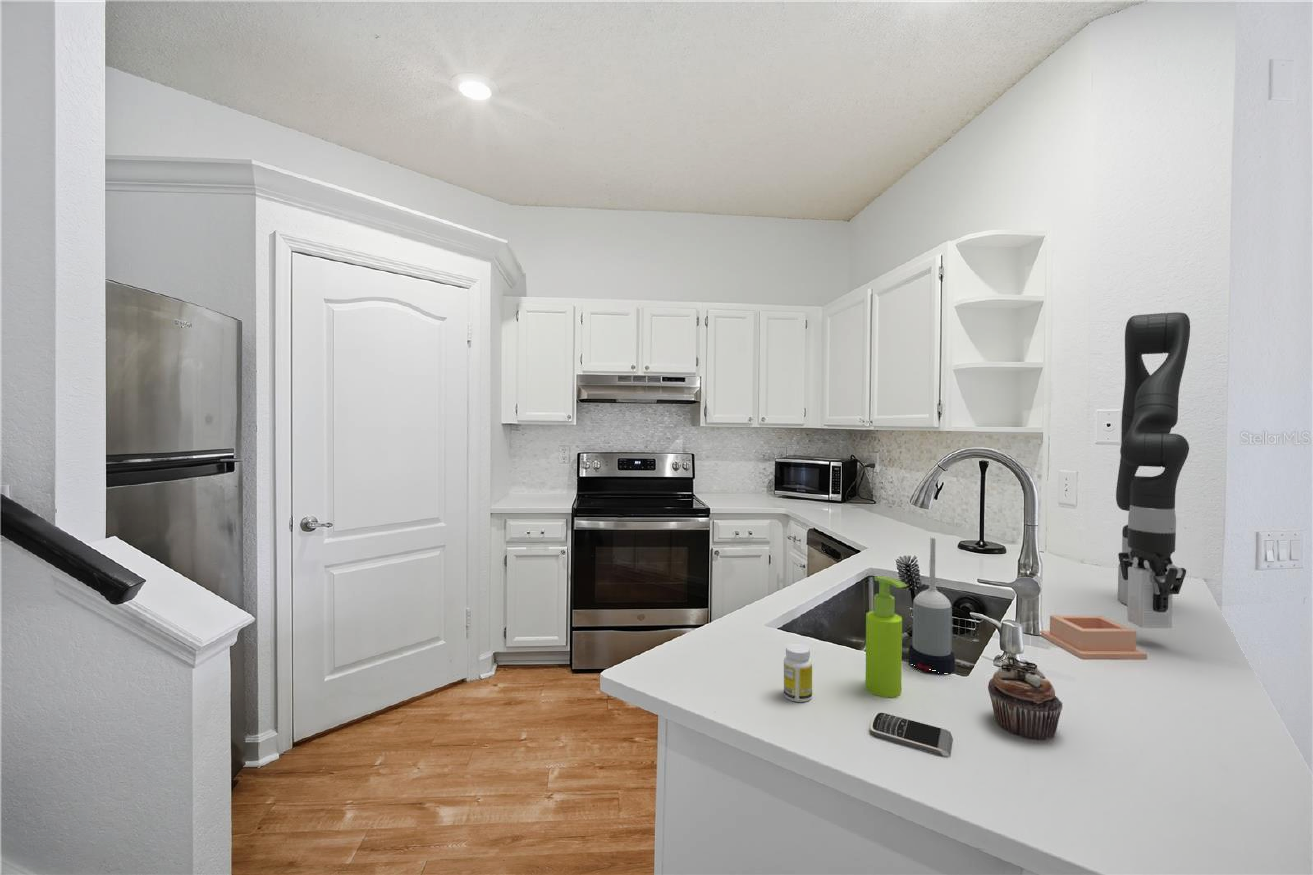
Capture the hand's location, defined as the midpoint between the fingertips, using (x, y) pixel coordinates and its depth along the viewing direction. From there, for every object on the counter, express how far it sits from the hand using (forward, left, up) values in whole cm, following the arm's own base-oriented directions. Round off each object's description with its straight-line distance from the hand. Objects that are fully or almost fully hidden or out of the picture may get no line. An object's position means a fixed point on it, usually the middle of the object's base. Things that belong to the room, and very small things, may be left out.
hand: (1148, 606), depth 117 cm
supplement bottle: (+22, -80, -8) cm, 84 cm away
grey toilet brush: (+10, -51, -8) cm, 53 cm away
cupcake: (+31, -47, -8) cm, 57 cm away
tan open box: (+1, -13, -8) cm, 15 cm away
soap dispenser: (+20, -64, -8) cm, 68 cm away
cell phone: (+34, -66, -9) cm, 75 cm away
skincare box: (0, 0, -4) cm, 4 cm away
